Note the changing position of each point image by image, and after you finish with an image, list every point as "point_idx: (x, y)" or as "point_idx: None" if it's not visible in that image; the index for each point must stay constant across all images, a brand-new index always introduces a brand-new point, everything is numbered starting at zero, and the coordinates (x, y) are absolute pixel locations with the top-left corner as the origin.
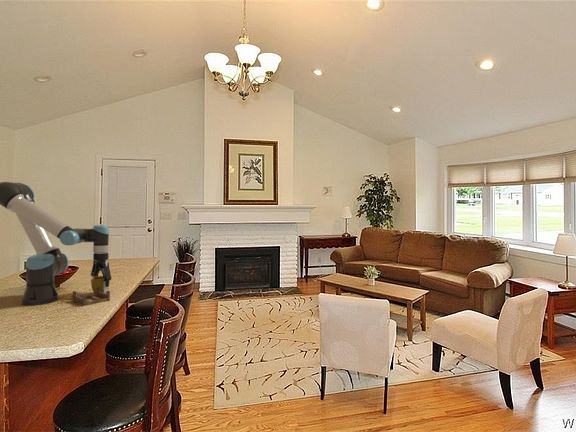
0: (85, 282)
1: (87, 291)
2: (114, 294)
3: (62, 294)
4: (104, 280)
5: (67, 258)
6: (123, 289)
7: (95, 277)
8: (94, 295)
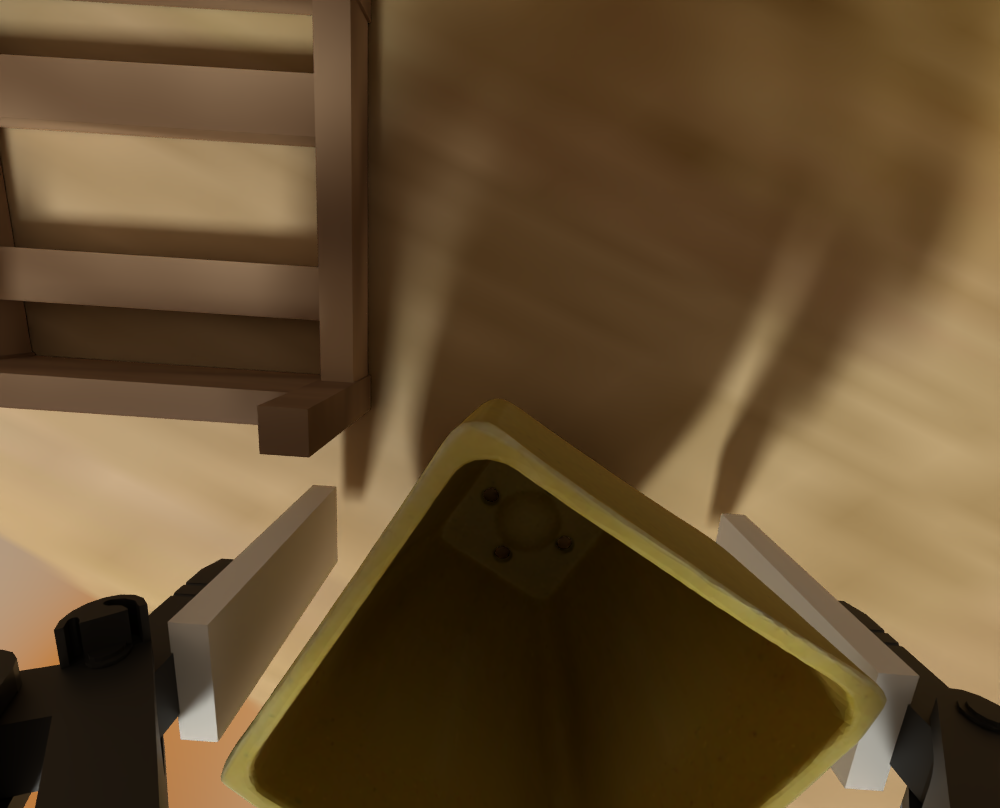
0: None
1: (810, 455)
2: None
3: (994, 81)
4: (69, 625)
5: None
6: None
7: (817, 709)
8: (323, 333)
